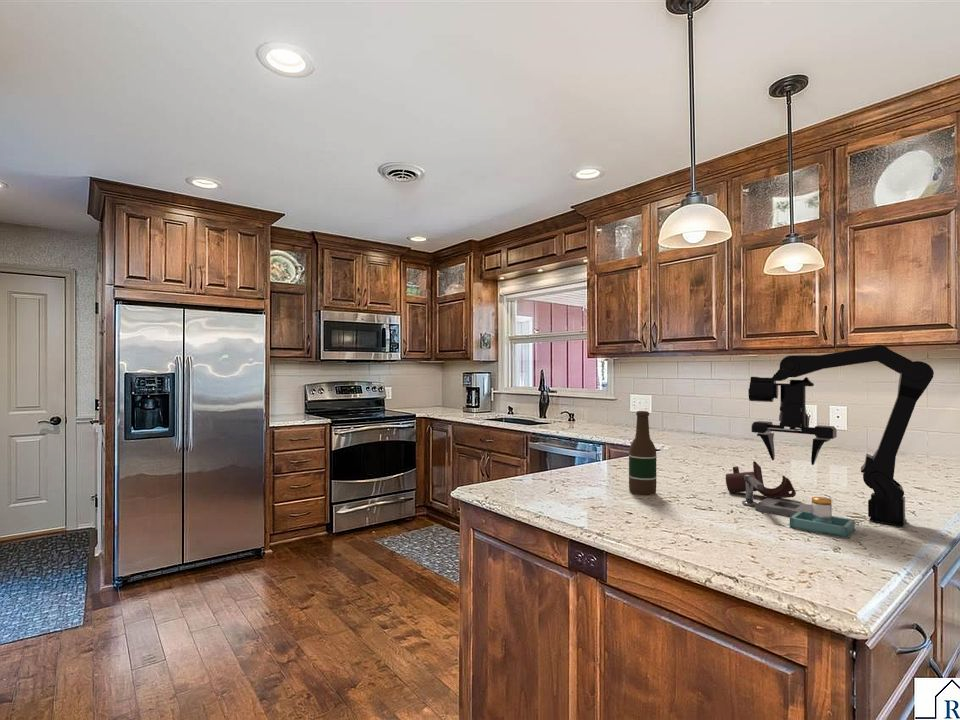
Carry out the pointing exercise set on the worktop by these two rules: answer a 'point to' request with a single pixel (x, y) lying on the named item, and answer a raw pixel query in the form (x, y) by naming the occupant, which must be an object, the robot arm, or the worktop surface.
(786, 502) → the hitch plate
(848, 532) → the tray
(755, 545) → the worktop surface
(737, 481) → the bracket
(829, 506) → the jar with golden lid
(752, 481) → the bar
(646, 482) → the beer bottle
